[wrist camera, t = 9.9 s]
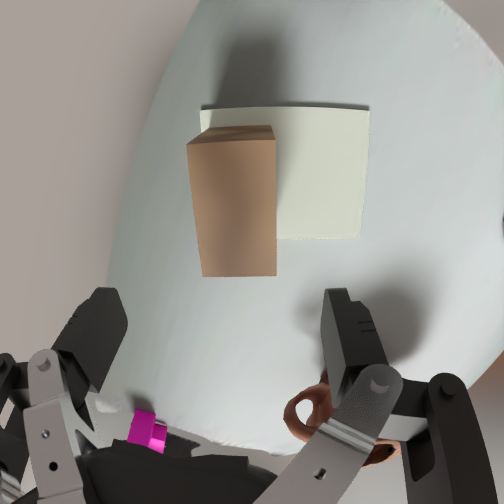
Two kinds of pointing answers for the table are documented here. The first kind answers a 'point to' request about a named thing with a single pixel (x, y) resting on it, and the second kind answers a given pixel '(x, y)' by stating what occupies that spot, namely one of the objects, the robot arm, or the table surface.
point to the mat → (311, 166)
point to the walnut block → (235, 200)
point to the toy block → (147, 431)
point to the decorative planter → (322, 413)
